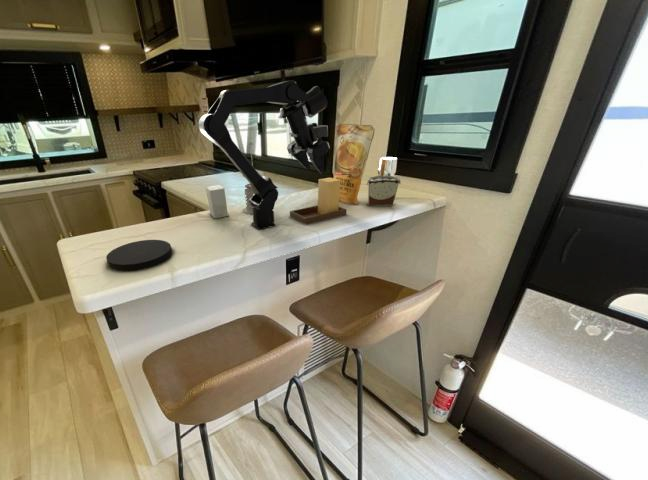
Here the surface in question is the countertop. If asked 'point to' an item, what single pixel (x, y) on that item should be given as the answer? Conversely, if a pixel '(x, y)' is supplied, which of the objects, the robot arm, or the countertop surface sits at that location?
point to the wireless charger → (139, 255)
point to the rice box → (328, 195)
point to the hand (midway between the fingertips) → (315, 171)
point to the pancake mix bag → (351, 158)
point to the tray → (314, 214)
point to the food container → (382, 190)
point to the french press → (250, 190)
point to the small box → (217, 201)
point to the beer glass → (387, 166)
